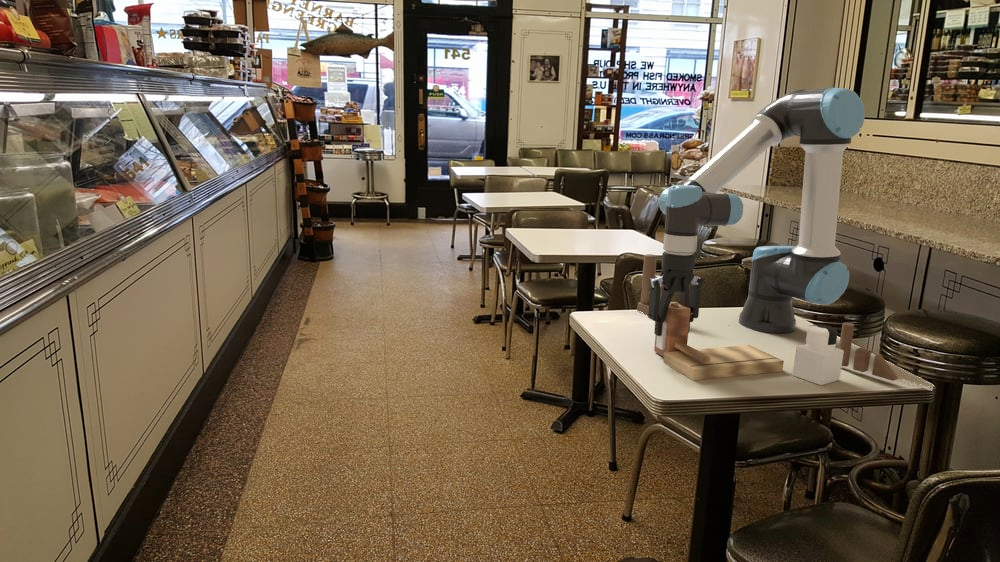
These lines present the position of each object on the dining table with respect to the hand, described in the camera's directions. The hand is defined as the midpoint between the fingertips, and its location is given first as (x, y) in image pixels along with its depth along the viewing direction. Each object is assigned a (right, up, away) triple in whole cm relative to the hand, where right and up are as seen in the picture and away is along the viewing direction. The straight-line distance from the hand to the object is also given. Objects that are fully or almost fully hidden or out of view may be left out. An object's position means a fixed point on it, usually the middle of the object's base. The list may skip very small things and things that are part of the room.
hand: (670, 347), depth 164 cm
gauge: (+2, -3, -5) cm, 6 cm away
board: (+11, -4, -6) cm, 13 cm away
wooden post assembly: (+4, +5, +34) cm, 35 cm away
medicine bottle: (+30, -6, -11) cm, 32 cm away
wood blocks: (+45, -6, -7) cm, 46 cm away
